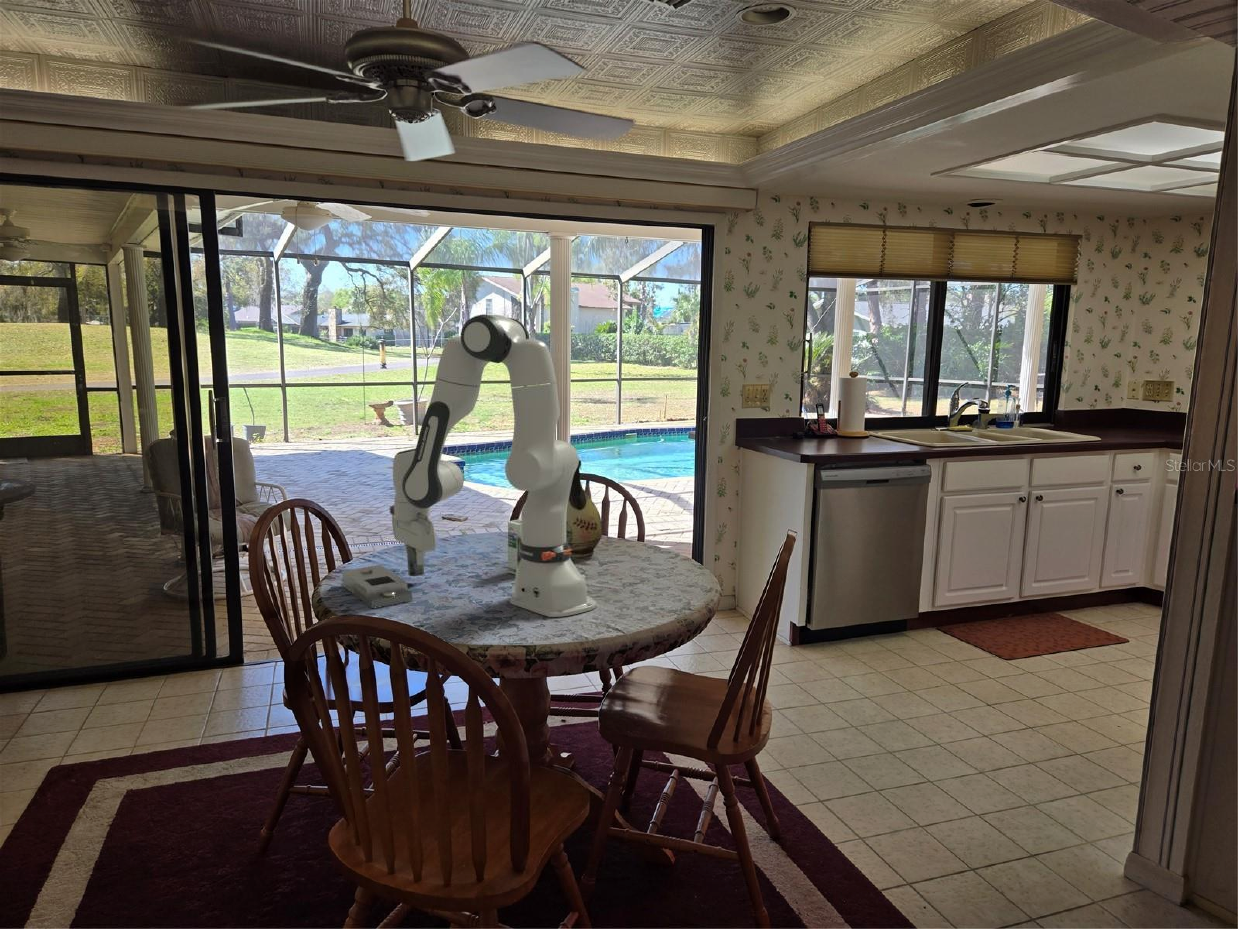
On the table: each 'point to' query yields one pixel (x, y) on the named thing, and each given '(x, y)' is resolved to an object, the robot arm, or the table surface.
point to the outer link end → (372, 581)
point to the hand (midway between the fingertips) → (415, 562)
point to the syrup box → (514, 545)
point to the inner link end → (385, 598)
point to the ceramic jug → (582, 520)
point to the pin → (413, 563)
